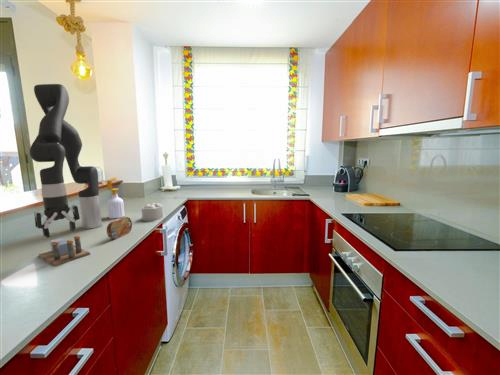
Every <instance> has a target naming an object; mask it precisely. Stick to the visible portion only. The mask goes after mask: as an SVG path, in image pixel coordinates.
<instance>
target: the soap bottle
mask: <svg viewBox="0 0 500 375" xmlns="http://www.w3.org/2000/svg"><path fill="white" fill-rule="evenodd" d="M117 179H118V178H116V177H112V178H110V179H108V180H107V182H106V185H107V190H109V191H111V192H112V193H111V198H109V199H108V200H107V204H106V205H107V207H106V208H107V213H108V214H107V215H108V219H114V218H116V219H120V218H123V217H126V216H125V215H126V214H125V205H124V200H123V199H122V198H121V197H119V194H118V193H117V192H118V191H119V190H120V188H113V187H112V182H114V181H116V180H117Z"/></svg>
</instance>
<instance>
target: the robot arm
mask: <svg viewBox="0 0 500 375" xmlns="http://www.w3.org/2000/svg"><path fill="white" fill-rule="evenodd" d="M33 93H34V96H35V98H36V100H37V103H38V104H39V106H40V108H41V109H42V111H43V113H44V116H43V117H42V118H41V120H40V122H39V127H38V134H37V136H36V137H35V139H34V141H33V142H32V144H31V145H30V148H29V156H30V158H31V159H32V160H33V161H34V162H37V163H50V162H51V163H54V164H53V165H52V166H50V167H46V168H42V169H40V170H39V177H40V184H41V185H40V186H41V196H42V203H43V207H44V208H43V209H44V210H43V211H41V212H40V211H39V212H38V211H36V212H34V224H35V228H38V229H42V234H43V236H44V237H46V238H50V237H51V236H50V229H49V226H50V224H52V222H54V221H59V220H63V219H67V220H68V221H69V230H70V231H71V232H74V231H75V230H76V222H77V221H78V220H81V225H82V228H83V229H87V230H88V229H94V228H98V227H101V226H103V222H102V221H103V220H102V211H101V210H102V209H101V203H100V201H101V200H100V194H99V193H100V192H99V190H100V187H99V186H100V185H99V171H98V170H97V168H96V167H95V166H93V165H92V166H91V165H89V166H87V165H86V166H81V165H80V162H79V156H80V153H81V151H82V147H83V141H82V139H81V137H80V135H79V131H78V130H77V129H76V128H75V127H74V126H72V124H71V123H69V122H68V121H66V120H65V116H66V113H67V110H68V107H69V103H70V97H69V93H68V91H67V89H66V87H65V86H64V85H63V84H60V83H43V84H36V85H34V86H33ZM65 160H66V162H67V165H68V168H69V172H70V174H71V177H72V179H73V181H74V182H75V183H76V184H79V185H80V184H81V185H82V184H86V185H87V184H88V185H87V187H86V188H85V189H82V190H79V191H78V201H79V208H78V206H77V205H74V204H72V205H71V206H69V203H68V194H67V188H66V185H65V179H64V174H63V173H64V172H63V171H64V170H63V169H64V161H65ZM79 210H80V212H79ZM70 211H71V212H72V214H73V216H71V215H70V214H69V212H70ZM80 215H81V216H80ZM44 216H46V217H45V220H43V221H44V222H43V223H42V218H43V217H44ZM80 218H81V219H80Z"/></svg>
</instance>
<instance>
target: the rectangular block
mask: <svg viewBox="0 0 500 375" xmlns="http://www.w3.org/2000/svg"><path fill="white" fill-rule="evenodd" d="M54 241H58V242H59V244H58V245H59V252H60V256H63V255H66V254H68V246H67V239H65V238H62V237H61V238H60V237H59V238H56V239H52V240H50V241H49V243H50V251H52V252H53V246H52V242H54Z"/></svg>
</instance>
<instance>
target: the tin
mask: <svg viewBox="0 0 500 375" xmlns="http://www.w3.org/2000/svg"><path fill="white" fill-rule="evenodd" d="M106 226H107V227H106V234H107V236H108V237H107V238H110V239H116V240H117V239H119V238H122V237H124V236H125V235H127V234H129V233H130V232H131V230H132V227H133V222H132V219H131V218H130V217H128V216H124V217H121V218H116V219H115V220H113V221H110V222H109V223H108V224H107V225H106Z"/></svg>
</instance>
